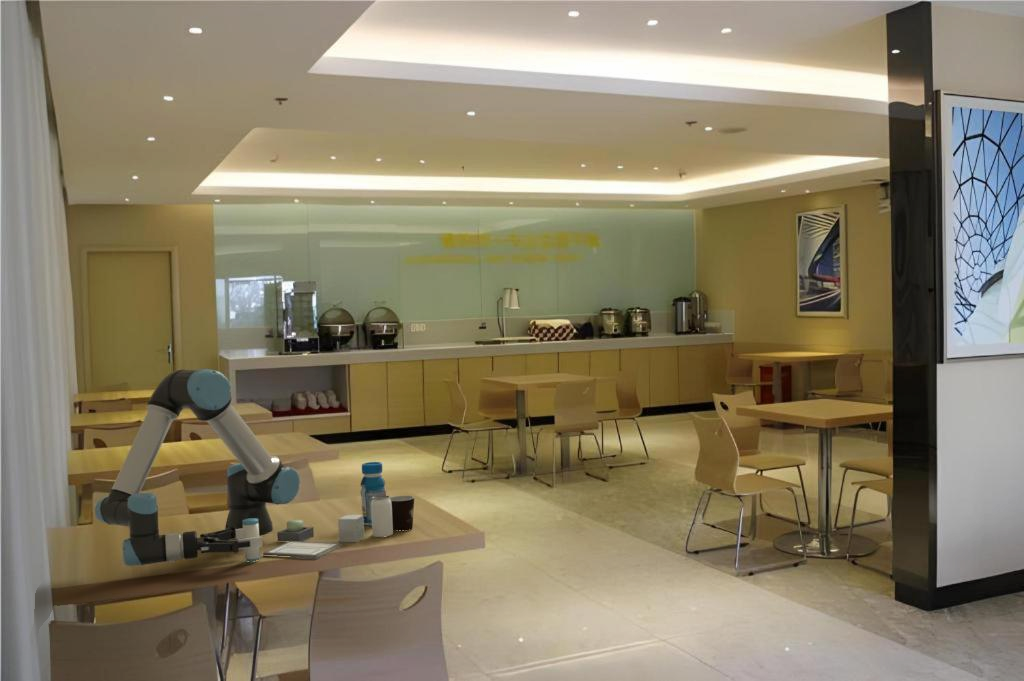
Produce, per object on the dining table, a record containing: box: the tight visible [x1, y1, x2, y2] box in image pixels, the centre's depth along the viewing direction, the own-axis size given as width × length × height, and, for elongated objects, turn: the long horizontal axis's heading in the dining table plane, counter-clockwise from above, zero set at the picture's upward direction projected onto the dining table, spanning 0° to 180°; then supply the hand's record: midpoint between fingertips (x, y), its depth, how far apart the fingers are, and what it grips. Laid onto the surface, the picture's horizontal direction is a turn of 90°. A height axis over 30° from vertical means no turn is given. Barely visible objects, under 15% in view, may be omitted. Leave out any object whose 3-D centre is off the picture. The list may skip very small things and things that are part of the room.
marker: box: [242, 518, 261, 562], centre depth 266 cm, size 4×4×12 cm
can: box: [371, 495, 394, 538], centre depth 289 cm, size 6×6×12 cm
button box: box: [276, 526, 315, 542], centre depth 290 cm, size 8×8×3 cm
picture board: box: [262, 540, 342, 560], centre depth 274 cm, size 18×14×1 cm
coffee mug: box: [389, 495, 415, 532], centre depth 298 cm, size 12×9×10 cm
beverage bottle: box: [360, 461, 387, 526], centre depth 307 cm, size 8×8×20 cm
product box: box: [337, 514, 365, 543], centre depth 285 cm, size 6×6×7 cm
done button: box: [286, 519, 304, 532], centre depth 290 cm, size 5×5×3 cm
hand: (260, 536), depth 267 cm, fingers open, 13 cm apart
